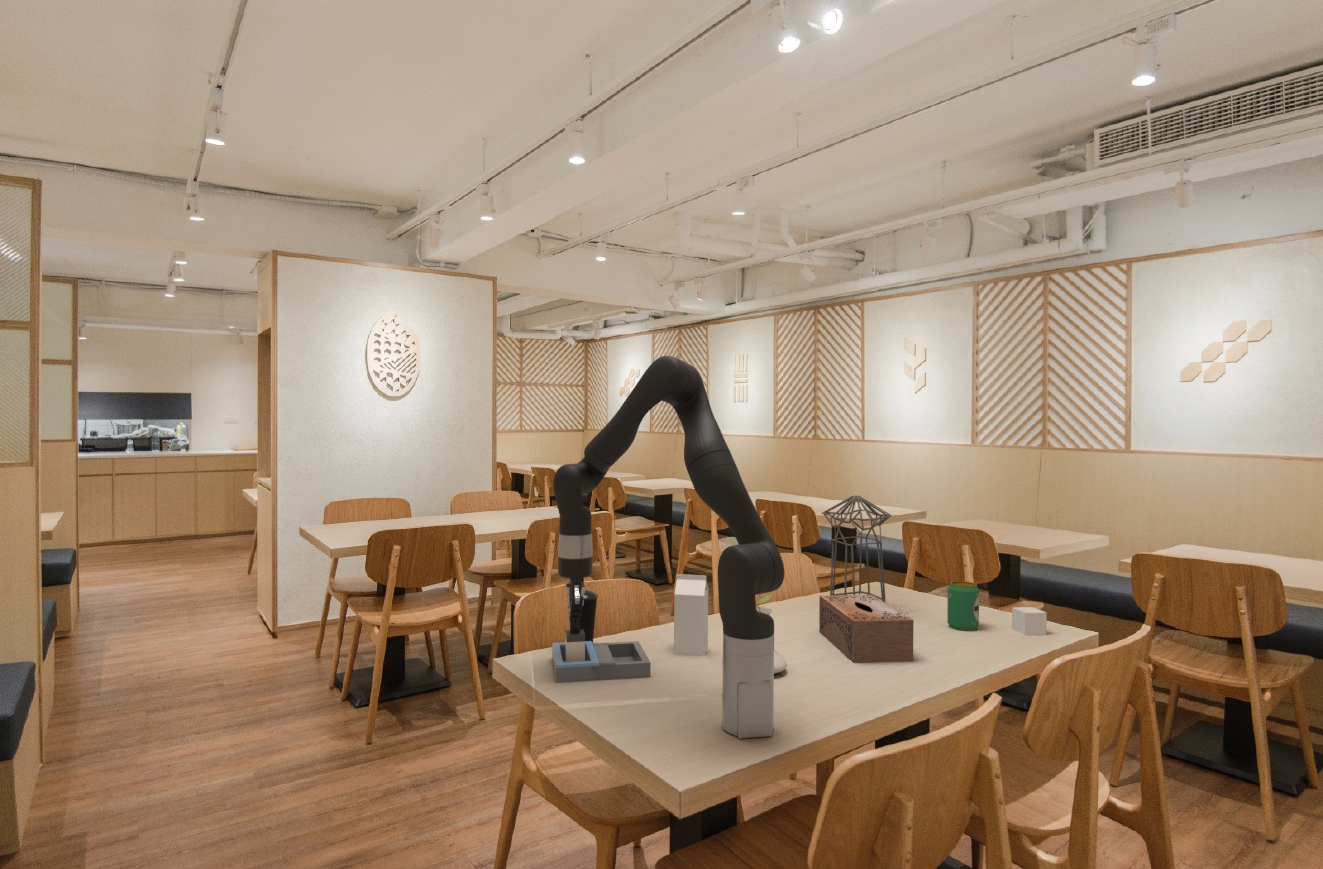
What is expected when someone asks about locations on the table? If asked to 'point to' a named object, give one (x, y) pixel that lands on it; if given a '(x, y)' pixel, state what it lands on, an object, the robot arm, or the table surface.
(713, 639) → the table surface
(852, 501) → the geometric lantern
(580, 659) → the gray rectangular block
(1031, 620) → the light gray cube
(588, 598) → the drinking cup
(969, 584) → the beverage can
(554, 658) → the divided storage tray
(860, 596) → the tissue box cover
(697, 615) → the milk carton
